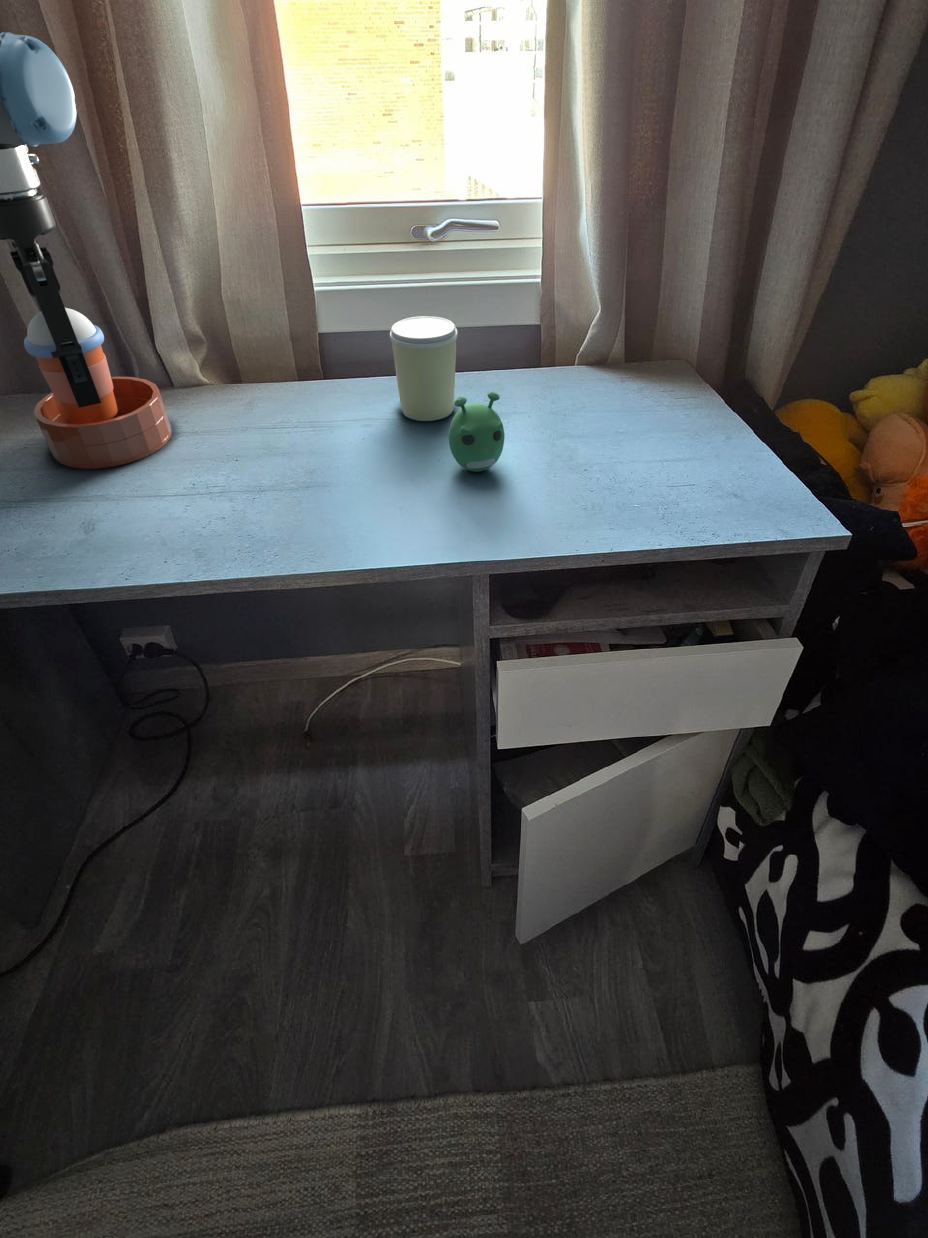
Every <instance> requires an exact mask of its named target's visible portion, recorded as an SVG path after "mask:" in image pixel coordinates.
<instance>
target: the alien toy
mask: <svg viewBox="0 0 928 1238" xmlns="http://www.w3.org/2000/svg"><path fill="white" fill-rule="evenodd" d="M486 395H487V397H488V399H489V402H488V404H484V403H479V402H478V403H469V404H467V402H468V400H467V398H466V397H464V396H459V397H457V398H456V399H455V400H454V406H455V407H458V408H460V409H459V410H458V411H457V412H456V413H455V415H454V416H453V418H452V420H451V423H450V425H449V426H450V427H449V430H448V444H449V449H450V452H451V455H452V457H453V458H454V460H455V461H456V463H457V464H458V465H459V466H460V467H461V468H463V469H465V470H467V471H469V472H483V471H486V470H489V469H490V468H491V467H493V466H494V465H495V464H496V463H497V462H498V460H499V459H500V457H501V455H502V453H503V450H504V445H505V429H504V424H503V421H502V420H501V418H500V415H499V414H498V413H497V411H495V410H494V408H492V407H493V404H494V402H496V401H499V400H500V394H499V393H498V392H497V391H488V392H487V394H486ZM466 404H467V405H466Z"/></svg>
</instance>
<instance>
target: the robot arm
mask: <svg viewBox="0 0 928 1238" xmlns="http://www.w3.org/2000/svg"><path fill="white" fill-rule="evenodd" d="M75 95H76V94H75V91H74V87H73V84H72V81H71V79H70V77H69V74H68V72H67V70H66V68H65V67H64V64H63V63H62V61H61V60H60V59H59V57H58V56H57V55H56V53H55V52H53V50H52V49H51V48H50V47H49V46H48V45H47V44H45V43H44V42H43V41H41V40H40V39H39V38H36V37H33V36H30V35H23V34H14V33H13V32H11V31H8V32H7V31H2V32H0V241H5V240H11V245H12V248H14V249H15V250H10V251H9V255H10V256H11V259H12V261H13V263H14V266H15V269H16V271H17V272H18V273H19V275H21V278H22V279H23V283H24V285H25V287H26V289H27V291H28V294H29V296H30V297H31V298H34V299H35V301H36V304H37V306H38V308H39V312H42V314H43V316H44V319H45V321H46V324H47V326H48V329H49V331H50V334H51V336H52V339H53V341H54V344H55V346H56V351H54V352H51V354H52V357H53V358H57V357H59V360H60V362H61V365H62V367H63V370H64V372H65V375H66V377H67V380H68V382H69V384H70V387H71V389H72V392H73V394H74V397H75V399H76V402H77V404H78V407H79V408H80V407H85V406H90V405H94V404H99V403H101V400H100V398H99V395H98V392H97V390H96V387H95V384H94V382H93V379H92V376H91V374H90V371H89V368H88V366H87V363H86V361H85V358H84V355H83V353H82V347H81V345H80V344H79V343H78V340H77V338H76V335H75V333H74V330H73V328H72V325H71V322H70V320H69V317H68V315H67V312H66V309H65V308H66V307H65V305H64V302H63V299H62V297H61V292H62V288H61V285H60V282H59V279H58V277H57V275H56V272H55V264H54V260H53V258H52V256H51V253H50V251H49V250H48V248H47V246H40V244H39V243H38V240H37V237H38V236H45V235H48V234H51V233H52V232H54V231H55V229H56V227H57V225H56V224H57V223H56V220H55V218H54V215H53V212H52V210H51V207H50V203H49V201H48V197H47V196H46V195H45V194H44V193H43V192H42V191H40V190H37V189H38V188H40V186H41V185H42V184H41V181H40V177H39V175H38V172H37V170H36V168H35V167H33V165H39V163H40V159H39V156H38V155H37V154H36V153H33V152H32V153H29V148H28V146H29V147H34V148H36V147H38V146H40V145H50V144H52V145H53V144H60V143H63V142H65V141H66V140H67V139H68V138H69V137H71V136H72V134H73V132H74V130H75V126H76V123H77V116H78V115H77V108H76V101H75V99H76V96H75ZM27 145H28V146H27ZM66 342H72V343H67V344H62V343H66Z"/></svg>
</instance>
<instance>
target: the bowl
mask: <svg viewBox="0 0 928 1238" xmlns="http://www.w3.org/2000/svg"><path fill="white" fill-rule="evenodd" d="M111 379H112V383H113V393H114V397H115V401H116V405H117V410H118V411H117V414H116V415H115V416H114V417H113V418H111V419H109V420H105V421H101V422H95V423H86V424H74V423H72V422H71V421H70V420H69V419H68V417H67V415H66V413H65V411H64V409H63V408H62V406H61V404H60V402H59V401H58V400H57V399H56V398H55V396H54V394H53V392H52V391H51V392H50V393H48V394H47V395H46V396H44V397H43V398H42V399H41V400H39V401H38V402H37V403H36V405H35V407H34V409H33V414H34V417H35V420H36V422H37V424H38V426H39V429H40V431H41V433H42V435H43V437H44V439H45V442H46V443H47V446H48V448H49V451H50V453H51V455H52V456H53V458H54V459H55V460H56V461H57V462H58V463H60V464H61V465H64V466H66V467H70V468H76V469H83V470H87V469H88V470H95V469H107V468H108V469H109V468H112V467H113V468H115V467H118V466H123V465H127V464H130V463H133V462H135V461H139V460H141V459H144V458H147V457H149V456H150V455H152V454H155V452H157V451H159V450H160V449H162V448H163V447H164V446H165V445H166V444H167V443H168V442H169V440H170V438H171V436H172V428H171V427H172V426H171V423H170V420H169V417H168V413H167V410H166V407H165V404H164V400H163V398H162V395H161V392H160V389H159V388H158V386H157V384H155V383H154V382H152V381H150V380H148V379H145V378H139V377H134V376H111Z"/></svg>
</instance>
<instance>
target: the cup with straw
mask: <svg viewBox="0 0 928 1238" xmlns="http://www.w3.org/2000/svg"><path fill="white" fill-rule="evenodd" d="M65 309H66V312H67V315H68V317H69V320H70V322H71V325H72V328H73V330H74V333H75V335H76V338H77V340H78V343H79V344H80V345H81V347H82V353H83V355H84V358H85V361H86V363H87V366H88V368H89V371H90V374H91V376H92V379H93V382H94V384H95V387H96V390H97V392H98V395H99V398H100V400H101V403H99V404H94V405H90V406H85V407H80V408H79V407H78V404H77V402H76V399H75V397H74V394H73V392H72V389H71V387H70V384H69V382H68V380H67V377H66V375H65V372H64V370H63V367H62V365H61V362H60V360H59V357H57V358H53V357H52V354H51V352H54V351H56V346H55V344H54V341H53V339H52V336H51V334H50V331H49V329H48V326H47V324H46V321H45V319H44V316H43V314H42V312H41V311H38V312H37V313H36V314H35V315H34V316H33V317H32V318H31V320H30V321H29V323H28V326H27V331H26V333H27V336H25V338H24V340H23V341H24V342H23V346H24V349H25V351H26V352H27V353H28V354H29V355H31V357H35V359H36V361H37V362H38V368H39V369H40V371H41V374H42V375H43V377H44V379H45V381H46V382H47V383H46V384H47V385H48V386H49V388H50V390H51V393H52V392H53V394H54V396H55V398H56V399H57V400H58V401H59V402H60V404H61V406H62V408H63V409H64V411H65V413H66V415H67V417H68V419H69V420H70V421H71V422H72V423H74V424H86V423H95V422H101V421H105V420H109V419H111V418H113V417H114V416H115V415H116V414H117V411H118V410H117V405H116V401H115V397H114V393H113V383H112V379H111V377H112V376H111V372H110V368H109V365H108V360H107V357H106V354H105V353H104V351H103V347H102V344H103V343H104V341H105V336H104V332H103V331H102V329H101V328H100V327H99V326H98V325H96V324H93V323H92V321H91V320H89V318H88V317H87V316H85V315H84V314H82V313H81V312H79V311H77V310H75V309H72V308H68V307H65ZM67 343H72V342H66V343H62V344H67Z"/></svg>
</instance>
